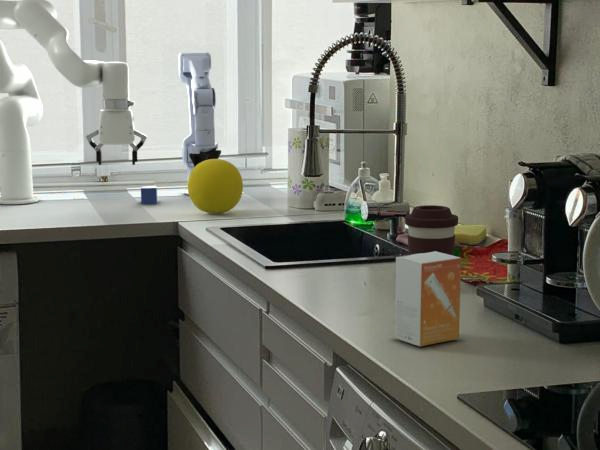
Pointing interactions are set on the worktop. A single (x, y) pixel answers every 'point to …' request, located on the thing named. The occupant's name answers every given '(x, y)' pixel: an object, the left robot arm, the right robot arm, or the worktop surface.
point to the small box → (427, 298)
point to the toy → (215, 186)
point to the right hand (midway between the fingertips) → (205, 175)
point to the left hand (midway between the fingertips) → (117, 164)
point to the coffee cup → (431, 230)
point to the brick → (149, 195)
